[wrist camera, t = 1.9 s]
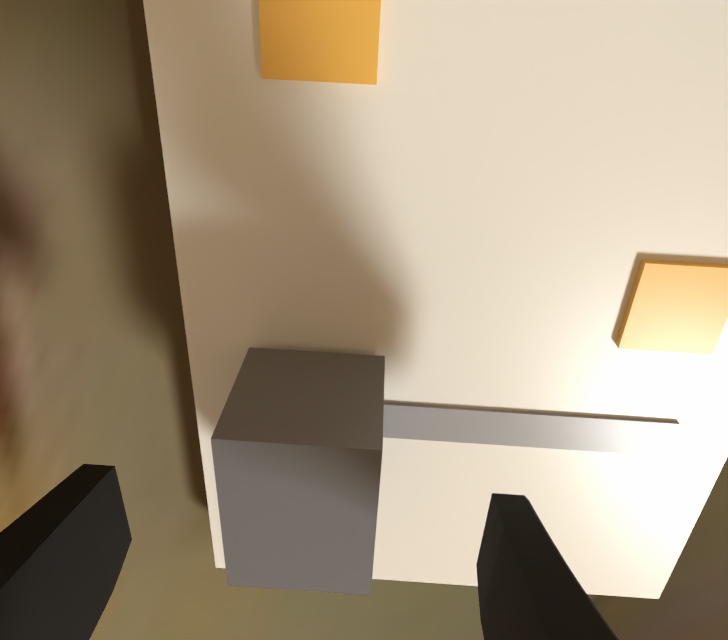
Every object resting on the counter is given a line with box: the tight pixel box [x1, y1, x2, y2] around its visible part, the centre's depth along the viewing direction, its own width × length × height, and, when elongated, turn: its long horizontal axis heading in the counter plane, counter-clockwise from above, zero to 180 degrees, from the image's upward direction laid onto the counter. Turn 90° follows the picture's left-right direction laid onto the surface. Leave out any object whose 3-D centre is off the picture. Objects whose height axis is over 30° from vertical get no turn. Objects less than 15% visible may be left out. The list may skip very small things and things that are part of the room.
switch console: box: [143, 0, 728, 599], centre depth 11 cm, size 13×24×2 cm, turn 177°
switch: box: [211, 347, 385, 596], centre depth 12 cm, size 3×4×3 cm
